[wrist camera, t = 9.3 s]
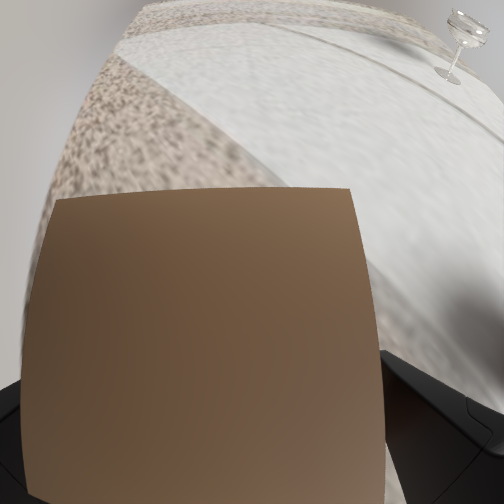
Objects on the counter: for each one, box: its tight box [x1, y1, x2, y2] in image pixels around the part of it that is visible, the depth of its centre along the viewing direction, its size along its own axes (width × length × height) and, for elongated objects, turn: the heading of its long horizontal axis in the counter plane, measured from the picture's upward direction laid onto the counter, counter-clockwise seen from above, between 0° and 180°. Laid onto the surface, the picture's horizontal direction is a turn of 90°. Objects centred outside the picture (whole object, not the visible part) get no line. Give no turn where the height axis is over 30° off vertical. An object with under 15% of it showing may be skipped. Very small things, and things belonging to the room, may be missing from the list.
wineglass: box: [435, 8, 490, 85], centre depth 29 cm, size 7×7×12 cm
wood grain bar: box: [20, 187, 385, 504], centre depth 9 cm, size 5×5×14 cm
